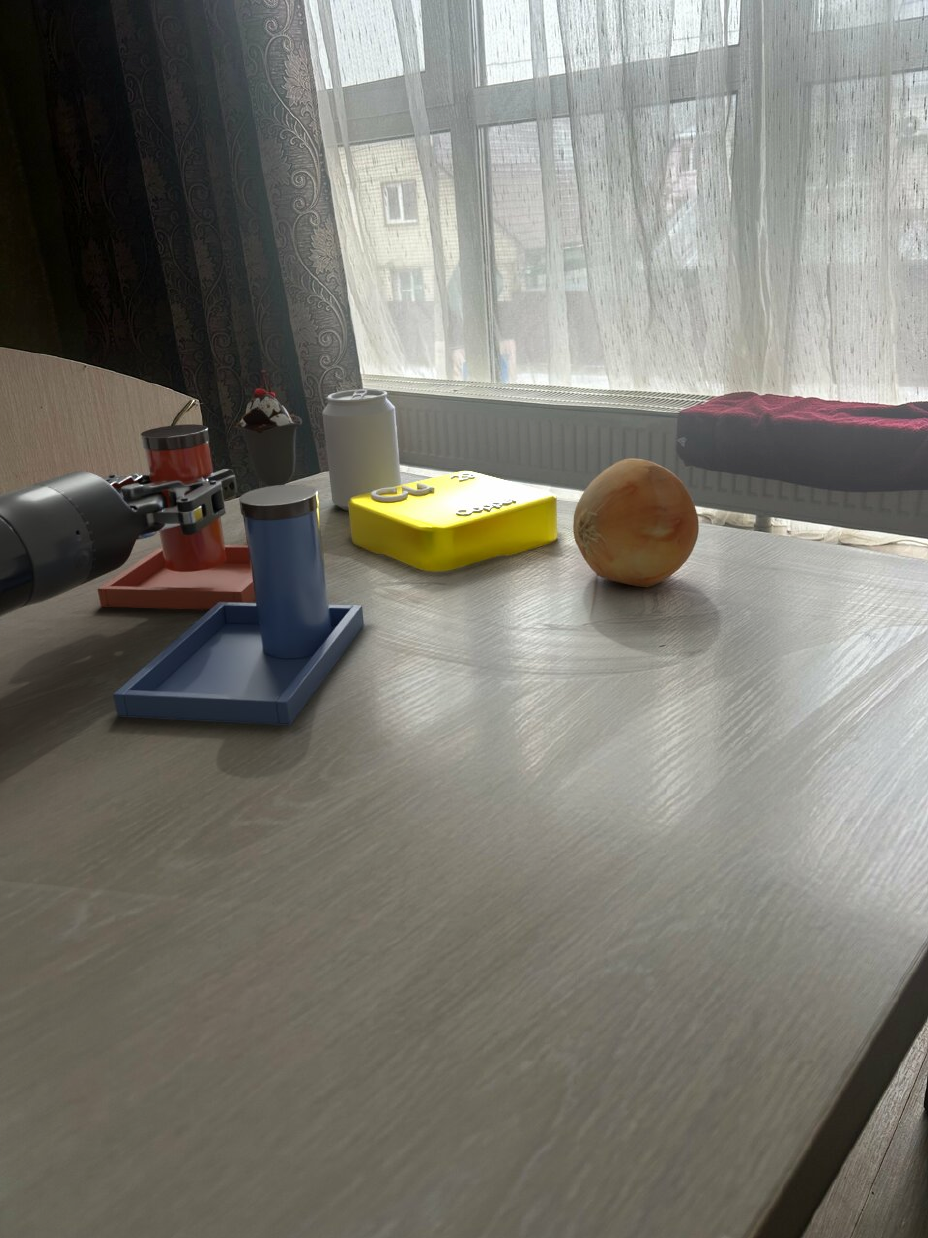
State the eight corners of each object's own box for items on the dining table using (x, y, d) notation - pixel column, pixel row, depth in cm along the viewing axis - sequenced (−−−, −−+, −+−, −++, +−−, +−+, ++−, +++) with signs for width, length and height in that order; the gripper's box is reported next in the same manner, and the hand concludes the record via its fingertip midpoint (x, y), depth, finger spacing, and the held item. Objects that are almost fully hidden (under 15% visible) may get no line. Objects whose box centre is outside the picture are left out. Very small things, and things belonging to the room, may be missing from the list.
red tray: (102, 612, 78) (97, 588, 78) (168, 565, 89) (164, 543, 88) (244, 616, 76) (240, 591, 75) (295, 567, 86) (293, 545, 85)
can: (322, 514, 101) (309, 399, 97) (347, 495, 108) (335, 386, 104) (390, 516, 100) (380, 398, 95) (411, 496, 106) (402, 385, 102)
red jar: (152, 572, 79) (127, 437, 75) (182, 552, 84) (160, 424, 79) (211, 573, 78) (189, 437, 74) (238, 552, 83) (218, 423, 78)
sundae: (291, 506, 105) (273, 365, 100) (324, 517, 101) (307, 370, 95) (237, 519, 102) (215, 374, 96) (269, 532, 97) (247, 379, 91)
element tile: (433, 581, 81) (429, 526, 79) (344, 542, 92) (338, 493, 91) (566, 540, 89) (566, 489, 87) (469, 509, 100) (466, 464, 99)
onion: (547, 585, 79) (545, 464, 75) (626, 554, 85) (627, 441, 81) (642, 615, 72) (644, 484, 68) (720, 579, 78) (727, 457, 74)
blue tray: (118, 724, 60) (112, 694, 60) (222, 627, 74) (218, 601, 73) (291, 733, 58) (286, 702, 57) (365, 631, 72) (362, 605, 71)
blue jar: (249, 658, 67) (226, 505, 63) (277, 628, 72) (257, 484, 68) (320, 661, 66) (301, 505, 62) (344, 631, 71) (327, 484, 66)
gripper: (116, 491, 62) (270, 437, 76) (-40, 480, 68) (130, 431, 82) (137, 600, 65) (282, 528, 79) (-14, 581, 71) (146, 517, 85)
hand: (203, 479), depth 80 cm, fingers closed on red jar, 5 cm apart
